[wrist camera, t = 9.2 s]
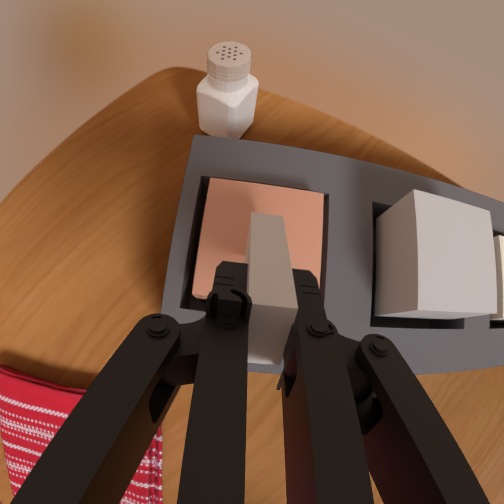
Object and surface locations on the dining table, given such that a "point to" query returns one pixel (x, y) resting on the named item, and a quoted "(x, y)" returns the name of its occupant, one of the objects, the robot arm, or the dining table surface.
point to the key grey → (434, 259)
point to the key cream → (499, 279)
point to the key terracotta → (238, 220)
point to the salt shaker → (227, 91)
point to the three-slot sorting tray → (333, 246)
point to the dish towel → (46, 426)
